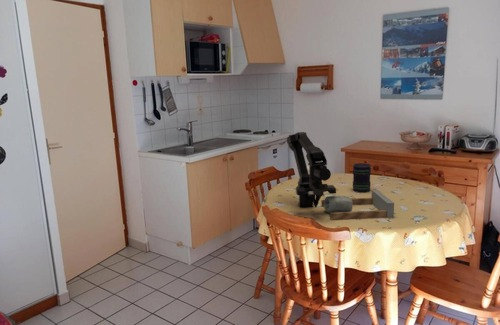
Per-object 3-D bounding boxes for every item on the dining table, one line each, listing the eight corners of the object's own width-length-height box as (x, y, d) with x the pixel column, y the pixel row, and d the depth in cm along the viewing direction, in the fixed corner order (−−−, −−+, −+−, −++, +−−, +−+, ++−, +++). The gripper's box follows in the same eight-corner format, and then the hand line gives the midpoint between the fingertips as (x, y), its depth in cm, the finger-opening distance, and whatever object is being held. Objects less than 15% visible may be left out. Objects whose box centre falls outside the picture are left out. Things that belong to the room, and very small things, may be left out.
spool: (322, 209, 182) (327, 189, 184) (321, 211, 191) (326, 192, 193) (351, 217, 179) (355, 196, 181) (348, 219, 188) (353, 200, 191)
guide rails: (330, 219, 177) (330, 213, 176) (321, 205, 197) (321, 200, 197) (386, 217, 177) (387, 211, 177) (371, 203, 198) (371, 197, 197)
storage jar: (368, 188, 225) (369, 163, 222) (372, 192, 215) (372, 166, 212) (351, 188, 226) (351, 163, 223) (354, 193, 216) (354, 167, 213)
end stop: (387, 217, 177) (387, 203, 175) (371, 202, 198) (371, 189, 197) (393, 217, 177) (394, 202, 175) (377, 202, 198) (377, 189, 197)
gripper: (298, 181, 175) (299, 213, 178) (339, 179, 175) (338, 211, 179) (295, 175, 186) (295, 205, 189) (333, 173, 186) (333, 204, 190)
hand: (315, 206), depth 186 cm, fingers closed
